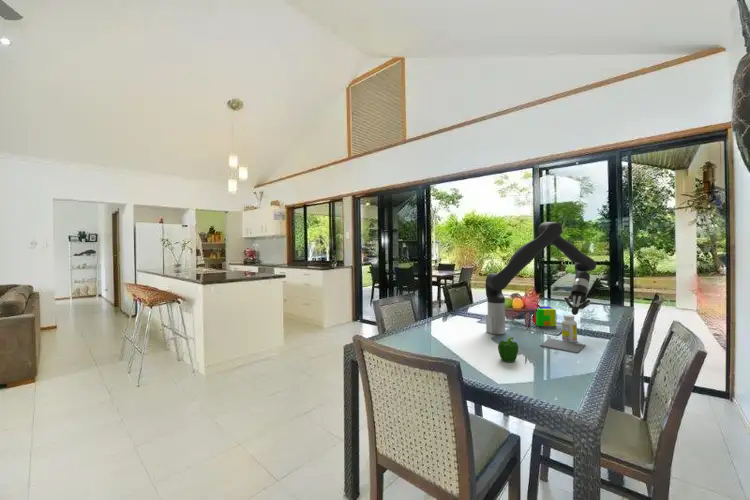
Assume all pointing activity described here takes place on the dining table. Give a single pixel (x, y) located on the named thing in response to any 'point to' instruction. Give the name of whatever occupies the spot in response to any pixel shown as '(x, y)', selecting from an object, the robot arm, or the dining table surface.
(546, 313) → the puzzle toy
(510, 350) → the bell pepper
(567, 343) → the mat
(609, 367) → the dining table surface
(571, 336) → the supplement bottle
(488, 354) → the dining table surface
